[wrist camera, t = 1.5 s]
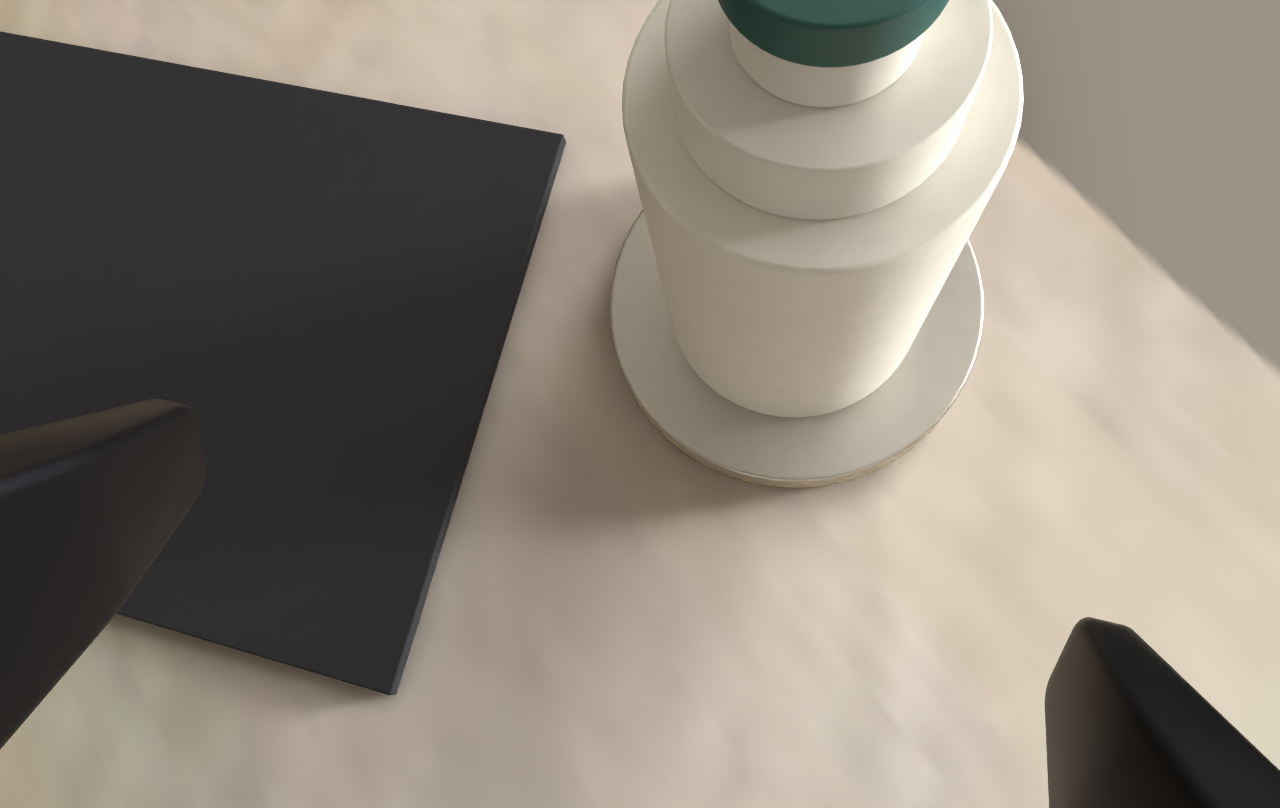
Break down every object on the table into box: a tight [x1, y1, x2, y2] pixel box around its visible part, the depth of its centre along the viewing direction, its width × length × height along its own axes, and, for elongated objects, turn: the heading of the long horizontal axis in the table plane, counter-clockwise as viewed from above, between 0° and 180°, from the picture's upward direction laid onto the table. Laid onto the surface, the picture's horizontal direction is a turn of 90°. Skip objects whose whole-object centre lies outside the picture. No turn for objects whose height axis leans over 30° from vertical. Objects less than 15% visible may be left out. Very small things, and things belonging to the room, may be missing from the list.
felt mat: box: [0, 32, 566, 695], centre depth 26 cm, size 15×20×1 cm
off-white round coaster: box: [610, 210, 984, 488], centre depth 23 cm, size 9×9×1 cm
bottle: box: [622, 0, 1023, 418], centre depth 17 cm, size 6×6×12 cm
